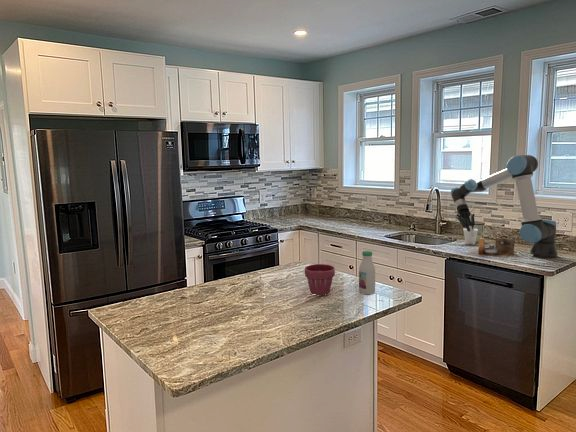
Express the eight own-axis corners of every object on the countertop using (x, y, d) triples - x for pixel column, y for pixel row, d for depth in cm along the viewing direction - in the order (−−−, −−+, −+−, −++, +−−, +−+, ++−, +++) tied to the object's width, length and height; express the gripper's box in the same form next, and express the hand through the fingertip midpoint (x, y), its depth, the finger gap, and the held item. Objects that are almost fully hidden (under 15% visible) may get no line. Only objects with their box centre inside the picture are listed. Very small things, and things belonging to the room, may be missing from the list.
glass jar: (467, 240, 333) (467, 221, 331) (481, 240, 332) (482, 221, 330) (471, 242, 323) (472, 223, 321) (486, 242, 322) (486, 223, 320)
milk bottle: (373, 289, 216) (373, 249, 213) (376, 294, 208) (377, 253, 206) (357, 290, 216) (357, 250, 213) (360, 295, 208) (360, 253, 205)
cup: (461, 245, 315) (462, 230, 313) (463, 242, 324) (464, 227, 322) (476, 246, 310) (477, 230, 309) (478, 243, 319) (478, 228, 317)
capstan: (500, 252, 284) (501, 237, 283) (495, 256, 275) (496, 240, 274) (483, 250, 291) (483, 235, 290) (477, 253, 282) (478, 238, 281)
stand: (513, 255, 283) (514, 239, 281) (506, 260, 270) (507, 243, 268) (475, 250, 298) (475, 235, 297) (466, 254, 285) (467, 239, 284)
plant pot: (299, 295, 210) (299, 268, 208) (314, 287, 222) (314, 262, 220) (325, 300, 202) (325, 272, 200) (339, 291, 214) (339, 266, 212)
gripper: (468, 210, 310) (479, 237, 296) (450, 210, 309) (460, 238, 295) (473, 203, 304) (484, 231, 290) (454, 203, 303) (464, 232, 289)
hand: (472, 235), depth 292 cm, fingers closed
